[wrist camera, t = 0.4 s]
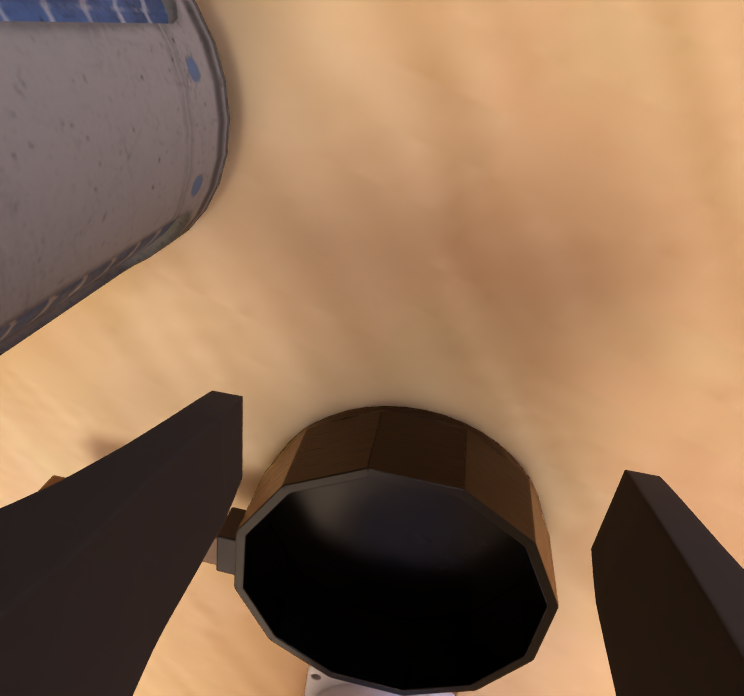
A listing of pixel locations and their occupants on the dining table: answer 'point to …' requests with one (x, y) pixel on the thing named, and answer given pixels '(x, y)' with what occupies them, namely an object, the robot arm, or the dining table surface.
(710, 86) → the dining table surface
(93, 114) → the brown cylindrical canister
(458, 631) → the skillet
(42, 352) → the dining table surface
